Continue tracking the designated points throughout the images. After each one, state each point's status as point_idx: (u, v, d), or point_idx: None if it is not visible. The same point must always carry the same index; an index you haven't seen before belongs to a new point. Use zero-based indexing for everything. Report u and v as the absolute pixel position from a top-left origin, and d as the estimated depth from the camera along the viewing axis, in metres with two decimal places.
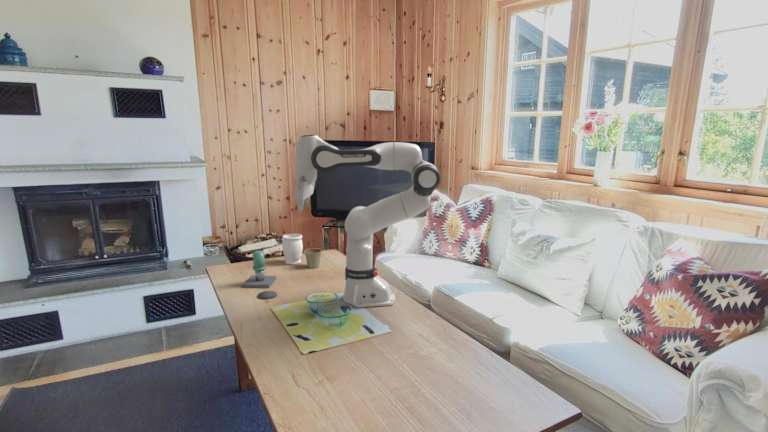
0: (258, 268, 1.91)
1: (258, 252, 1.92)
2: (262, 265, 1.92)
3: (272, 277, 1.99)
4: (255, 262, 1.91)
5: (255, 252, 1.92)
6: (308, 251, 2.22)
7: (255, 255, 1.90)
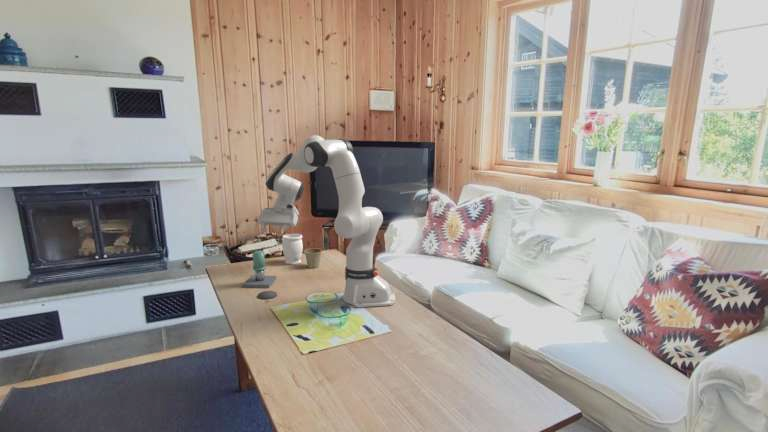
0: (258, 268, 1.91)
1: (258, 252, 1.92)
2: (262, 265, 1.92)
3: (272, 277, 1.99)
4: (255, 262, 1.91)
5: (255, 252, 1.92)
6: (308, 251, 2.22)
7: (255, 255, 1.90)
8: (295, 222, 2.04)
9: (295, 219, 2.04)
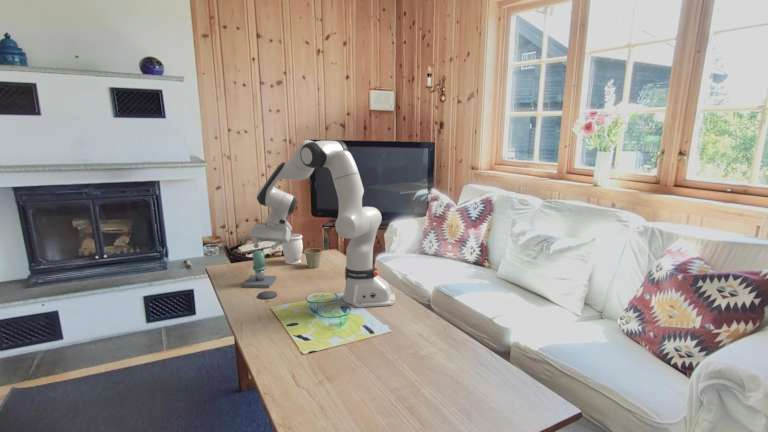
0: (258, 268, 1.91)
1: (258, 252, 1.92)
2: (262, 265, 1.92)
3: (272, 277, 1.99)
4: (255, 262, 1.91)
5: (255, 252, 1.92)
6: (308, 251, 2.22)
7: (255, 255, 1.90)
8: (288, 238, 1.98)
9: (288, 234, 1.98)
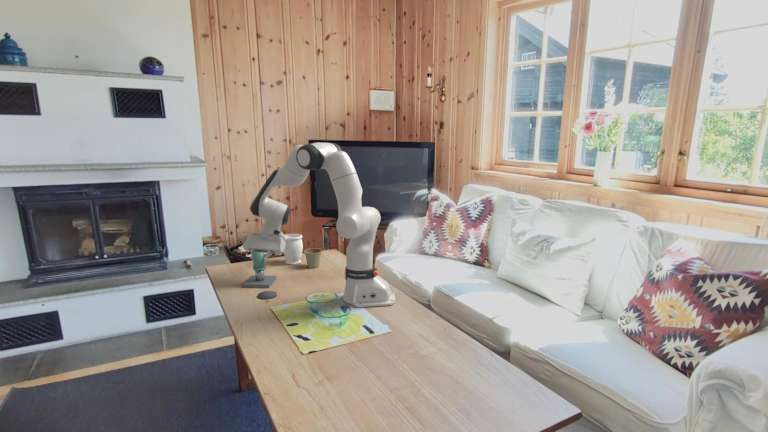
0: (258, 268, 1.91)
1: (258, 252, 1.92)
2: (262, 265, 1.92)
3: (272, 277, 1.99)
4: (255, 262, 1.91)
5: (255, 252, 1.92)
6: (308, 251, 2.22)
7: (255, 255, 1.90)
8: (282, 249, 1.94)
9: (282, 246, 1.94)
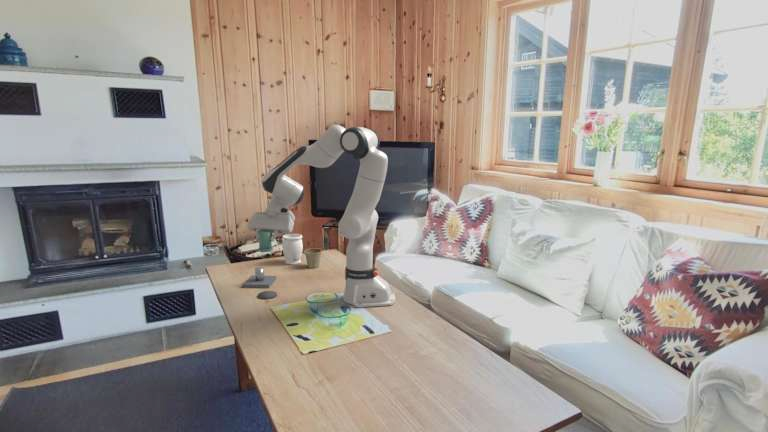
0: (264, 249, 1.74)
1: (264, 232, 1.75)
2: (269, 246, 1.75)
3: (272, 277, 1.99)
4: (261, 243, 1.74)
5: (261, 232, 1.75)
6: (308, 251, 2.22)
7: (261, 235, 1.73)
8: (291, 228, 1.76)
9: (291, 225, 1.77)
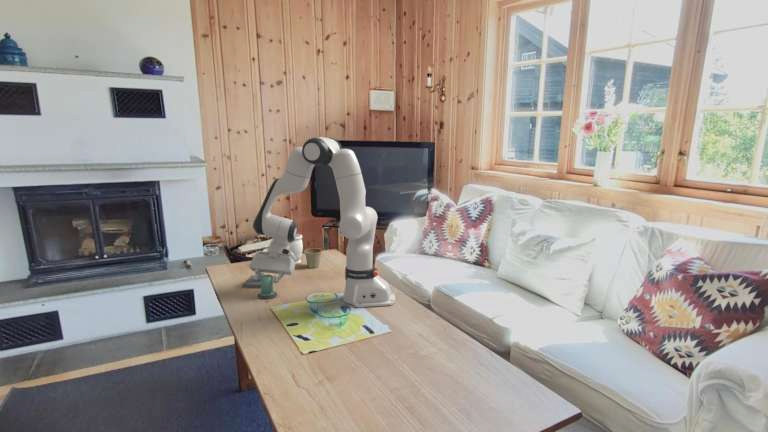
0: (266, 294, 1.78)
1: (266, 277, 1.78)
2: (270, 291, 1.79)
3: None
4: (263, 288, 1.77)
5: (263, 277, 1.78)
6: (308, 251, 2.22)
7: (263, 280, 1.77)
8: (292, 270, 1.80)
9: (292, 266, 1.80)
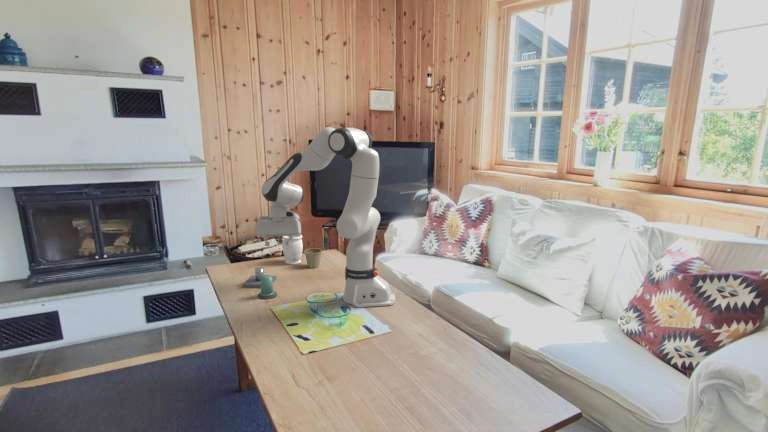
0: (266, 294, 1.78)
1: (266, 277, 1.78)
2: (270, 291, 1.79)
3: None
4: (263, 288, 1.77)
5: (263, 277, 1.78)
6: (308, 251, 2.22)
7: (263, 280, 1.77)
8: (300, 230, 1.87)
9: (299, 227, 1.87)
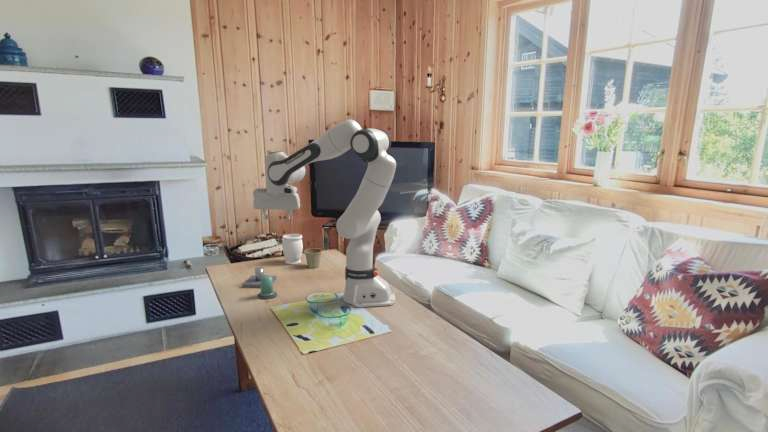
0: (266, 294, 1.78)
1: (266, 277, 1.78)
2: (270, 291, 1.79)
3: (272, 277, 1.99)
4: (263, 288, 1.77)
5: (263, 277, 1.78)
6: (308, 251, 2.22)
7: (263, 280, 1.77)
8: (299, 204, 1.86)
9: (298, 202, 1.85)
